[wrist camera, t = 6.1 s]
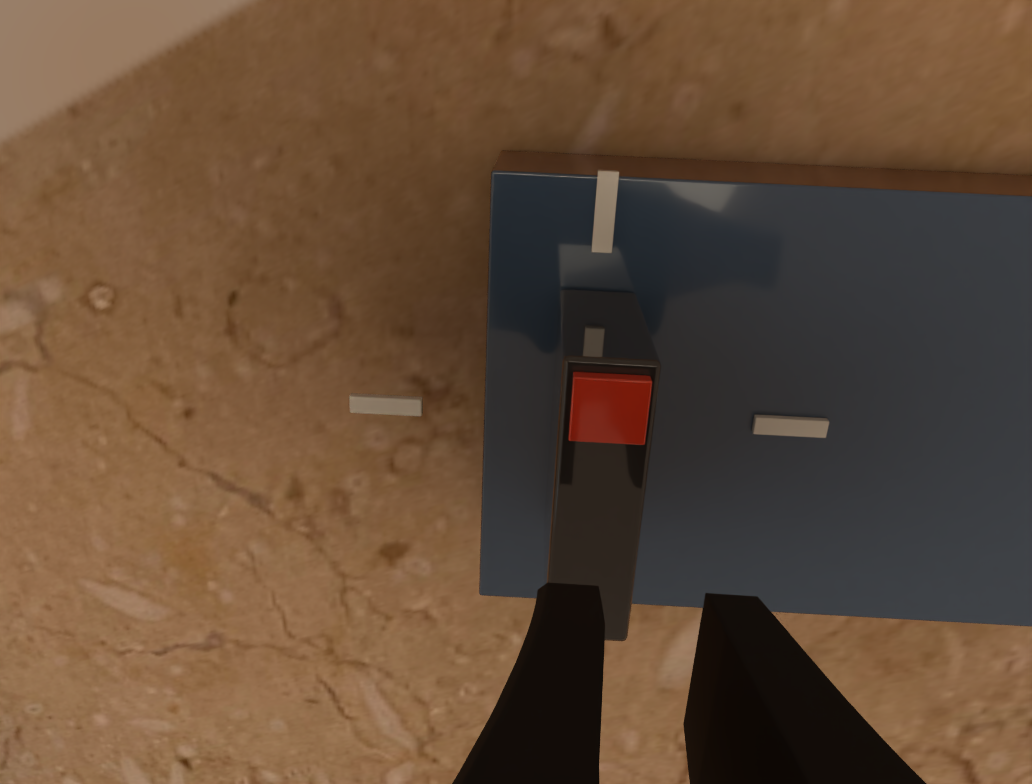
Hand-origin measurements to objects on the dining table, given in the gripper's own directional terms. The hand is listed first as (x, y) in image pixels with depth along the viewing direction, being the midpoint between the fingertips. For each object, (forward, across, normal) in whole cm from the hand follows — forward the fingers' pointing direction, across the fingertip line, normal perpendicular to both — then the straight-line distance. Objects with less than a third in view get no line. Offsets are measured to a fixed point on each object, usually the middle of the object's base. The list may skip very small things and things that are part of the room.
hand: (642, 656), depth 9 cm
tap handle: (+6, 0, 0) cm, 6 cm away
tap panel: (+9, -3, 0) cm, 10 cm away
